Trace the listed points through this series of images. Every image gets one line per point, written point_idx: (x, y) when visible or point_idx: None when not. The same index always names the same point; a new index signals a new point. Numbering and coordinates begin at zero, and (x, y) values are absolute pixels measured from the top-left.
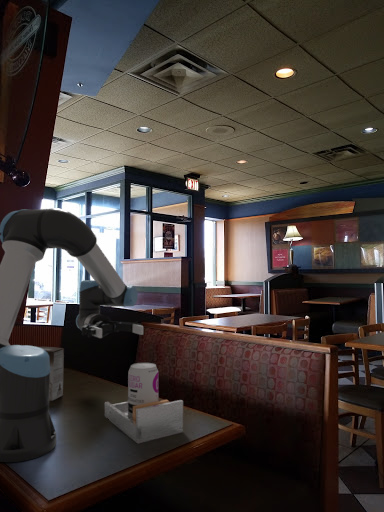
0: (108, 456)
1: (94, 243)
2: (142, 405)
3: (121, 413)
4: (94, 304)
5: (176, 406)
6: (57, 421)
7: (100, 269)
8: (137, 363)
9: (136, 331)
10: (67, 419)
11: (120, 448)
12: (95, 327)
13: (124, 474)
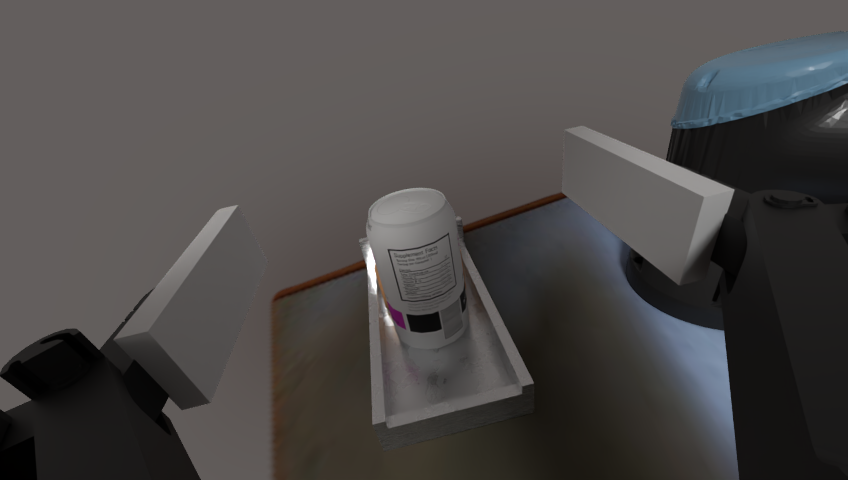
0: (517, 243)
1: None
2: None
3: (485, 294)
4: None
5: None
6: (705, 413)
7: None
8: (414, 221)
9: (235, 305)
10: (672, 422)
11: (497, 258)
12: (655, 157)
13: (497, 215)
